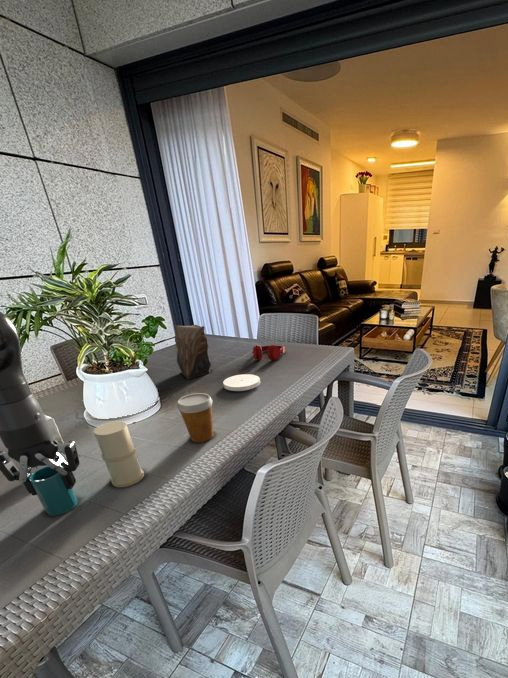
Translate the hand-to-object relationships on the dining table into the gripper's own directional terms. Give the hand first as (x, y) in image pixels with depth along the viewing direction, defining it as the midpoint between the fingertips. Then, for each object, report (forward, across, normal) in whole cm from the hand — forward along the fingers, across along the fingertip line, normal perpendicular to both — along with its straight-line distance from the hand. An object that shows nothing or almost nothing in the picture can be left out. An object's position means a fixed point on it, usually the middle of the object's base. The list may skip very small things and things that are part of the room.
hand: (54, 489), depth 75 cm
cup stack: (+5, -12, -7) cm, 15 cm away
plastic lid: (+5, -43, -59) cm, 74 cm away
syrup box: (+5, +7, -16) cm, 18 cm away
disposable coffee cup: (+5, -29, -22) cm, 37 cm away
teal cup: (+5, 0, 0) cm, 5 cm away
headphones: (+5, -59, -96) cm, 113 cm away
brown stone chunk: (+5, -24, -82) cm, 86 cm away
